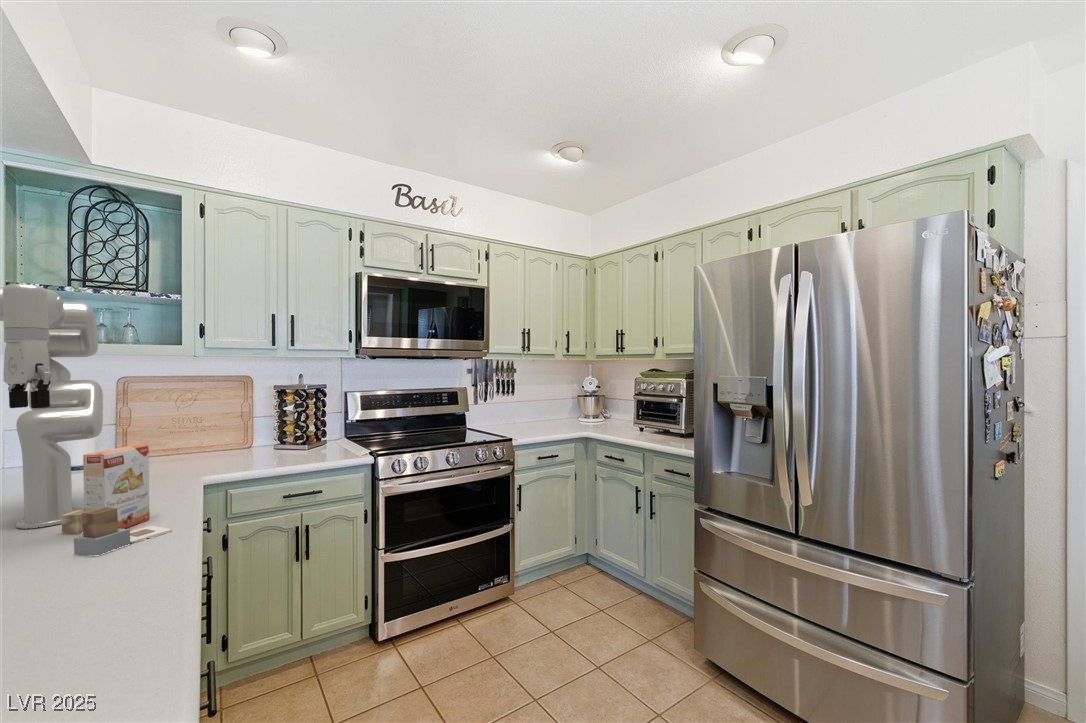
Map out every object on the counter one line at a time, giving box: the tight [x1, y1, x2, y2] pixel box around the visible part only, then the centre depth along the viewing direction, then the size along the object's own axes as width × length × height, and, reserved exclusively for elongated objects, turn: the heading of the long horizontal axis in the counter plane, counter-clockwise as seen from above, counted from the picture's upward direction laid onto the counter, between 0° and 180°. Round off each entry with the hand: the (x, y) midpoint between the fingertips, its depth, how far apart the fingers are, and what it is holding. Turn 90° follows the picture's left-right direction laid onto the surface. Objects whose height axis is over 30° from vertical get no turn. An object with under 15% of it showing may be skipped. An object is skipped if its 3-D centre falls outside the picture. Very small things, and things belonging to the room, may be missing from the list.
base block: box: [73, 528, 131, 556], centre depth 116 cm, size 7×7×4 cm
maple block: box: [61, 509, 84, 535], centre depth 130 cm, size 4×4×5 cm
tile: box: [130, 525, 173, 544], centre depth 125 cm, size 9×9×1 cm
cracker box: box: [82, 444, 151, 529], centre depth 132 cm, size 14×6×21 cm, turn 179°
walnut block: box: [82, 507, 118, 538], centre depth 115 cm, size 4×4×6 cm
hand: (29, 407), depth 120 cm, fingers open, 9 cm apart
